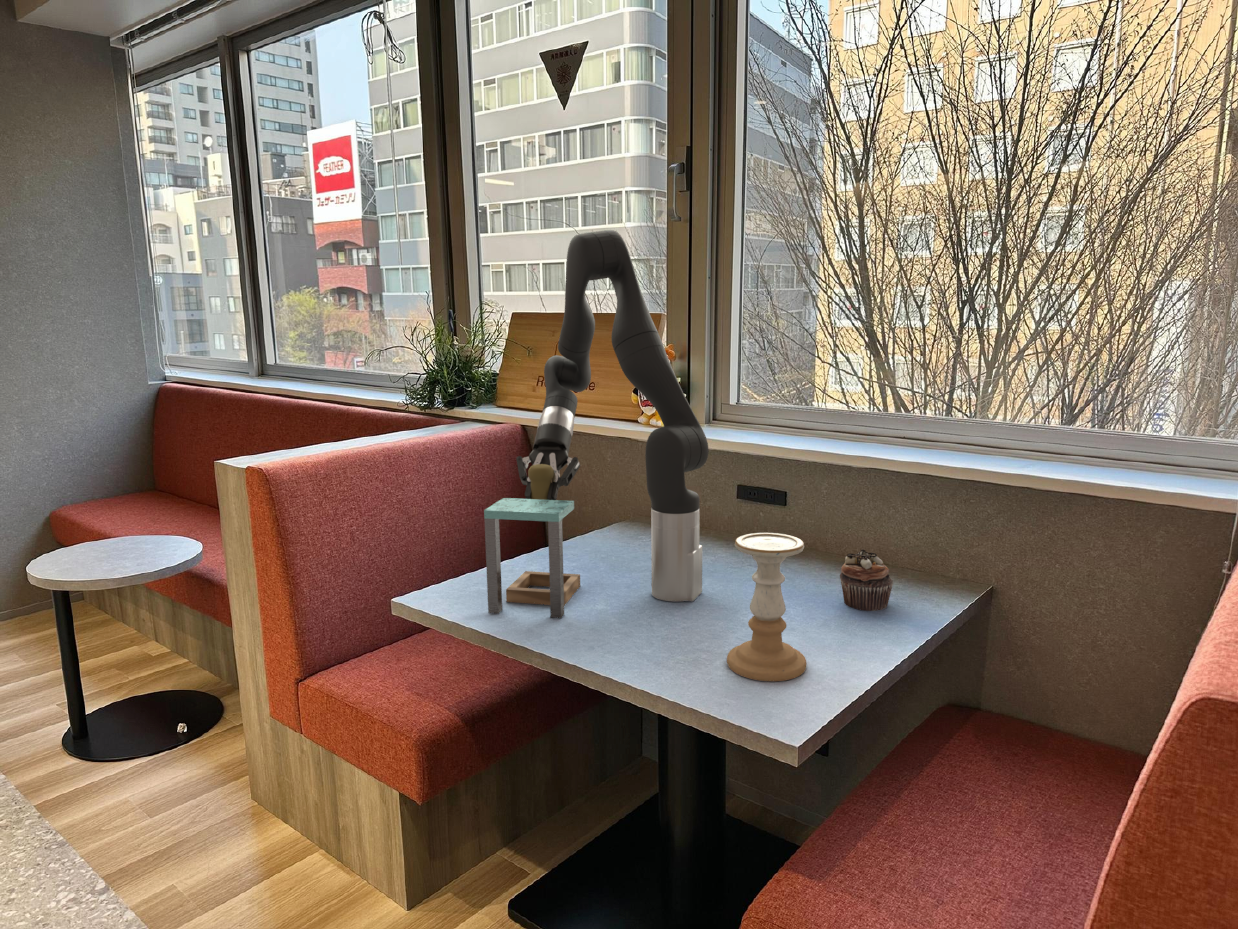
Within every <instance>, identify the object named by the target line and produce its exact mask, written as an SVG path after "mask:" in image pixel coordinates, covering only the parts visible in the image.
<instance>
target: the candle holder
mask: <svg viewBox="0 0 1238 929" xmlns="http://www.w3.org/2000/svg"><path fill="white" fill-rule="evenodd" d="M734 546H735V549H736V550H738V552H741V553H743V554H745V555H749V556H751V557H752V559H753V560H754V561H755V562H756V565H757V566H756V567H757V568H756V571H755V572H754V573H753V574H752V575H751V580H752V581H753V582H755V587H754V591H753V595H752V597H751V601H750V604H749V610H750V613H751V614H752V617H751V618H750V619H749V620H748V622H747V624H748V627H749V629H750V630H751V631H752V635H751V640H747V641H744V642H742V643H741V644H740V645H736V646H735V647H733V648H732V649H730V650H729V651H728V653H727V655H726V663H727V667H728V668H729V669H730V670H731V672H734V674H736V675H738V676H740V677H744V678H746V679H751V680H754V681H761V682H783V681H788V680H789V681H790V680H794V679H796V678H799V677H800V676H801V675H803V674H804V673H805V672H806V669H807V663H808V662H807V659H806V656H805V655H804V654H803V653H802V652H801V651H800V650H798V649H796V648H794V647H793V646H792V645H790V644H789V643H787V642H783V635H782V633H783V632H784V631H785V630H786V629H787V625H788V624H787V622H786V620H784V619H783V616H784V615H785V613H786V609H787V608H786V607H787V606H786V603H785V600H784V596H783V592H782V584H783V583H784V582H785V580H786V576H785V575H784V574H783V573H782V572H781V564H782V563H783V562H784V561H785V560H786V558H787V557H792V556H796V555H798V554H801V553H803V550H804V548H805V543H804V541H803V540H802V539H801V538H798V537H796V536H793V535H789V534H785V533H778V532H754V533H753V532H752V533H751V532H750V533H746V534H743V535H740V536H738V537H736V539H735V541H734Z"/></svg>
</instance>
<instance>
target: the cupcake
mask: <svg viewBox="0 0 1238 929" xmlns="http://www.w3.org/2000/svg"><path fill="white" fill-rule="evenodd" d="M844 561H845V562H844V564H842V566H841V568H840V570H841V572H840V575H839V580H840V585H841V589H842V597H843V602H844V605H845V606H847V607H848V608H850V609H851V608H852V609H854V610H858V611H862V612H864V611H866V612H879V611H882V610H883V611H884V610H885V609H887V608H888V605H889V600H890V596H891V592H892V589H893V586H894V580H893V579H892V578H891V576H890V574H889V573H890V569H889V568H888V567H887V566H886V565H885V564H884V562H883V560H882V559H880V557H879V556H878V555H877V553H876V552H868V551H866V550H865V549H860V551H859V552H858V553H847V554H846V556H845V560H844Z"/></svg>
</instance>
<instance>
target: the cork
mask: <svg viewBox="0 0 1238 929" xmlns="http://www.w3.org/2000/svg"><path fill="white" fill-rule="evenodd" d="M528 476H529V479H530V480H531V499H541V500H548V499H547V496H548V491H549V487H550V483H552V478H553V476H554V471H553V468H552V467H551V466H550V465H546V464H537V465H531V466H530V467H529V469H528V470H527V477H528Z"/></svg>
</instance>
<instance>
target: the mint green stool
mask: <svg viewBox="0 0 1238 929" xmlns="http://www.w3.org/2000/svg"><path fill="white" fill-rule="evenodd" d="M573 510H575V500H560V499H559V500H558V499H556V500H541V499H526V498H516V497H515V498H514V497H513V498H511V497H503V498H501V499H500V500H497V501H496V502H495V503H493V504H492V505H490V506H489V507H487V508H485V509H484V510H483V513H484V514H483V516H484V517H483V519H484V538H485V561H486V562H485V564H486V586H487V587H486V588H487V589H486V590H487V591H486V592H487V610H488V611H487V612H488V614H494V615H495V614H497V615H499V614H500V613H501V612H502V611H503V593H502V591H503V590H502V568H501V567H502V566H501V565H502V564H501V562H502V561H501V542H500V539H501V537H500V536H501V535H500V520H512V521H513V520H514V521H533V522H547V526H548V527H547V531H548V566H549V567H548V568H549V569H548V570H549V575H550V587H549V590H550V605H549V606H550V607H549V608H550V611H549V612H550V619H551V618H553V619H562V618H563V617H564V616H565V606H564V579H563V573H564V543H563V539H564V538H563V520H564V518H565V517H566V516H567V515H569V514H570V513H571V512H572V511H573ZM563 615H564V616H563ZM562 616H563V617H562Z"/></svg>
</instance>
